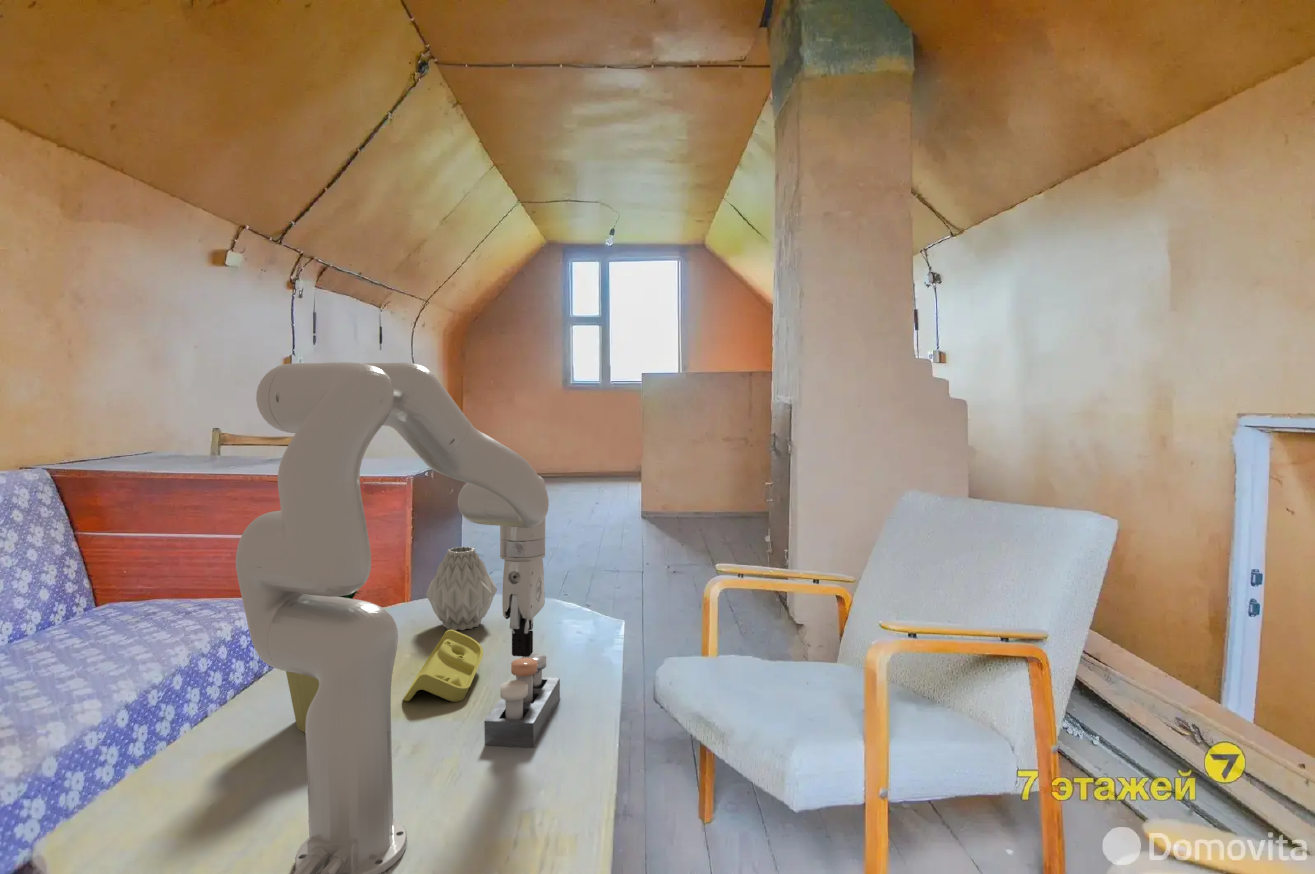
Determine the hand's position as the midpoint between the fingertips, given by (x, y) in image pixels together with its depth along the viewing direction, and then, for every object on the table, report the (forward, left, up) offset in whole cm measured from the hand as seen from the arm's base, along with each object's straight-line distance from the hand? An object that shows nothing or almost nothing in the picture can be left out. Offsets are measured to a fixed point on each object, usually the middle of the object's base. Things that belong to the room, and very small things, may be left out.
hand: (522, 654), depth 123 cm
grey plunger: (+7, 0, -12) cm, 13 cm away
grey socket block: (+1, 0, -12) cm, 12 cm away
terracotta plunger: (+1, 0, -10) cm, 10 cm away
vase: (+48, +29, -12) cm, 57 cm away
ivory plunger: (-5, 0, -12) cm, 13 cm away
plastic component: (+15, +19, -12) cm, 27 cm away
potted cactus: (-2, +33, -12) cm, 35 cm away
